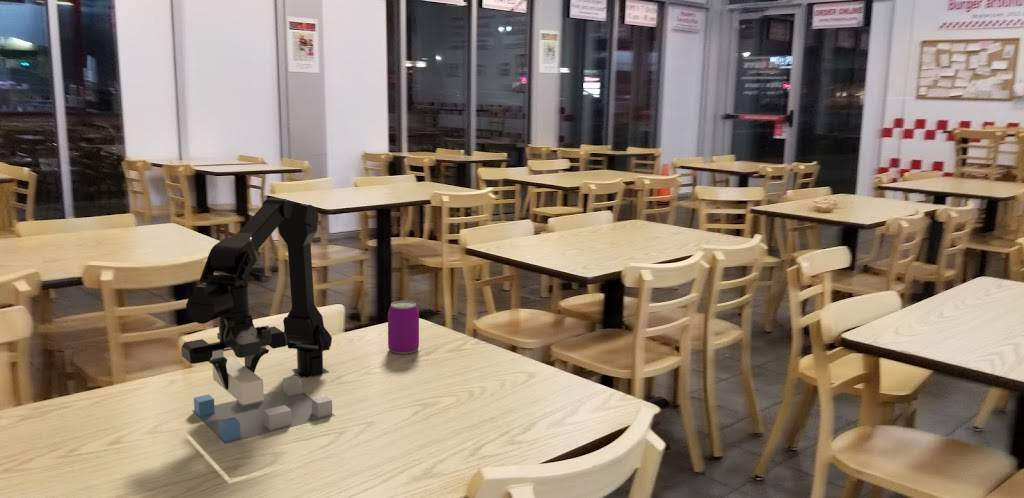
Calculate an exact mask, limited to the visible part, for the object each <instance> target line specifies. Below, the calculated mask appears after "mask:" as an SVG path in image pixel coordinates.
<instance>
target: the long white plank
mask: <svg viewBox="0 0 1024 498" xmlns="http://www.w3.org/2000/svg"><path fill="white" fill-rule="evenodd" d="M225 358H226V359H227V363H226V368H227V375H228V389H227V390H226V389H225V388H224V386H223V384H222V382H221V379H220V377H219V375H218V373H217V371H216V369H215V367H214V366H213V365H212V376H213V377H212V378H213V381H214V382H216V383H217V385H219V386H220V387H222V388H223V389H224V390H225V391H226V392H227V393H229V394H230V396H232V397H233V398H235V399H236V400H238V401H239V402H240V403H242V404H243V405H244V404H248V403H253V402H257V401H261V400H264V394H265V391H264V379H263V378H261V376H258V375H257V374H256V373H255V372H254V373H253V372H252V371H251V370H249V369H248V368H247V367H245V364H243V363H241V362H240V361H239V360H238V359H235V357H233V356H229V357H225Z"/></svg>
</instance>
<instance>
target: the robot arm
mask: <svg viewBox="0 0 1024 498" xmlns="http://www.w3.org/2000/svg"><path fill="white" fill-rule="evenodd" d="M318 223H319V212H318V210H317V208H315V207H314V206H313V205H312V204H305V203H304V204H303V203H296V202H294V201H291V200H289V199H286V198H275V197H274V198H273V197H269V198H266V199H265V200H264V201H263V202H262V206H261V207H260V208H259V209H258V210H257V212H255V213H254V215H253V216H252V217H250V219H249V220H248V221H247V222H246V223H245V224H244V225H243V226H242V228H241V229H240V230H239V231H238V232H237V233H236V234H234V235H231V236H228V237H224V238H223V239H221V240H220V241H219V242H217V243H216V244H214V245H213V246H212V247H211V249H210V251H209V253H208V256H207V259H206V261H205V265H204V266H203V270H202V273H201V275H200V278H199V285H198V284H197V285H195V287H194V293H192V294H191V295H190V296H189V297H188V299H187V302H186V304H185V309H186V312H187V315H188V317H189V318H190V319H191V320H192V321H193V322H195V323H197V324H200V325H203V324H207V323H210V322H211V321H214V320H216V319H217V320H218V333H217V339H218V340H219V341H216V342H210V343H208V342H207V341H206V340H204V339H203V338H201V339H195V340H189V341H185V342H183V344H182V346H181V348H180V349H181V351H180V352H181V357H182V358H183V359H185V361H187V362H188V363H189V364H191V365H197V364H200V363H206V362H208V363H209V364H211V365H212V367H213V366H214V367H215V369H216V371H217V373H218V375H219V377H220V379H221V382H222V384H223V386H224V388H225V389H226V390H227V389H228V375H227V368H226V363H227V359H226V358H227V357H225V356H224V352H228V351H233V353H234V356H236V358H240V359H242V358H243V359H244V366H245V367H247V368H248V369H249V370H251V371H252V372H253V373H255V372H256V369H257V366H258V364H259V362H260V360H261V358H262V357H263V356H264V355H267V354H269V351H270V350H269V349H268V348H267V347H268V346H269V347H270V348H272V349H273V350H274V349H279V348H285V347H286V346H287V348H288V349H289V350H290V349H292V350H293V349H294V350H296V361H297V362H296V363H297V364H296V365H297V368H293V369H291V371H292V372H293V373H295V374H296V375H298V377H301V379H302V378H303V379H304V378H309V377H316V376H320V375H323V374H328V373H330V371H329V370H327V369H326V368H324V356H323V355H324V351H330V349H331V347H332V341H333V337H332V335H331V334H330V332H329V331H328V330H327V329H326V327H325V325H324V317H323V315H322V314H321V312H320V311H319V310H318V308H317V306H316V305H315V294H314V278H313V276H314V275H313V264H312V262H313V261H312V246H311V243H312V241H313V239H314V237H315V235H316V234H317V232H318ZM276 229H278V234H279V236H280V237H281V238H282V240H283V242H284V243H285V244H286V246H287V257H288V275H289V286H290V289H289V290H290V299H291V300H290V301H291V302H290V303H291V309H290V310H289V312H288V314H287V316H286V317H284V318H283V320H282V321H283V330H284V331H282V330H281V329H279V328H278V327H276V326H269V325H263V326H256V327H255V324H254V320H253V315H252V314H250V295H249V291H250V290H249V284H250V283H252V282H254V280H255V277H253V276H252V275H251V274H249V273H250V272H251V271H252V269H253V268H254V266H255V264H256V263H257V261H258V254H257V253H258V250H259V249H260V248H261V247H262V246H263V244H264V243H265V242H266V241H267V239H268V238H269V237H270V236H271V235H272V234H273V233H274V232H275V230H276ZM224 388H223V389H224ZM225 389H224V390H225ZM226 390H225V391H226Z"/></svg>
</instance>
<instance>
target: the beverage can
mask: <svg viewBox="0 0 1024 498" xmlns="http://www.w3.org/2000/svg"><path fill="white" fill-rule="evenodd" d="M419 346H420V311H419V308H418V306H417V303H416V302H414V301H410V300H398V301H393V302H392V303H391V304H390V306H389V309H388V312H387V348H388V349H389V351H391V353H393V354H396V353H397V355H408V354H407V353H410V354H413V353H415V352H416V351H417V350H418V349H419ZM412 352H413V353H412Z"/></svg>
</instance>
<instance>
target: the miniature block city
mask: <svg viewBox="0 0 1024 498" xmlns="http://www.w3.org/2000/svg"><path fill="white" fill-rule="evenodd" d="M193 406H194V407H193V408H194V409H192V410H191V412H192V413H194V415H195V416H196V417H198V418H199V419H200V420H201V421H202V423H204V424H205V425H206V427H208V428H209V429H210V430H211V431H212V432H213V433H214V434H215V435H216V436H217V437H218V438H219V439H220V441H222V442H223V443H224V444H225V445H227V444H230V443H234V442H239V441H242V440H245V439H250V438H253V437H254V438H255V437H258V436H262V435H266V434H271V433H273V432H276V431H282V430H286V429H290V428H293V427H297V426H301V425H305V424H308V423H312V422H316V421H321V420H324V419H328V418H333V417H336V414H334V413H333V399H331V398H330V397H329V396H327V395H322V396H321V395H320V396H317V397H312V398H311V397H310V396H308V395H307V394H306V393H304V392H303V379H302V378H300V376H297V375H292V376H288V377H283V378H282V389H281V390H277V391H273V392H268V393H264V400H261V401H257V402H253V403H248V404H244V405H243V404H242V403H240V402H239V401H238V400H237V399H236V400H233V401H228V402H223V403H218V404H215V398H214V397H213V396H212V395H210V394H203V395H200V396H199V395H198V396H196V397H193Z"/></svg>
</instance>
